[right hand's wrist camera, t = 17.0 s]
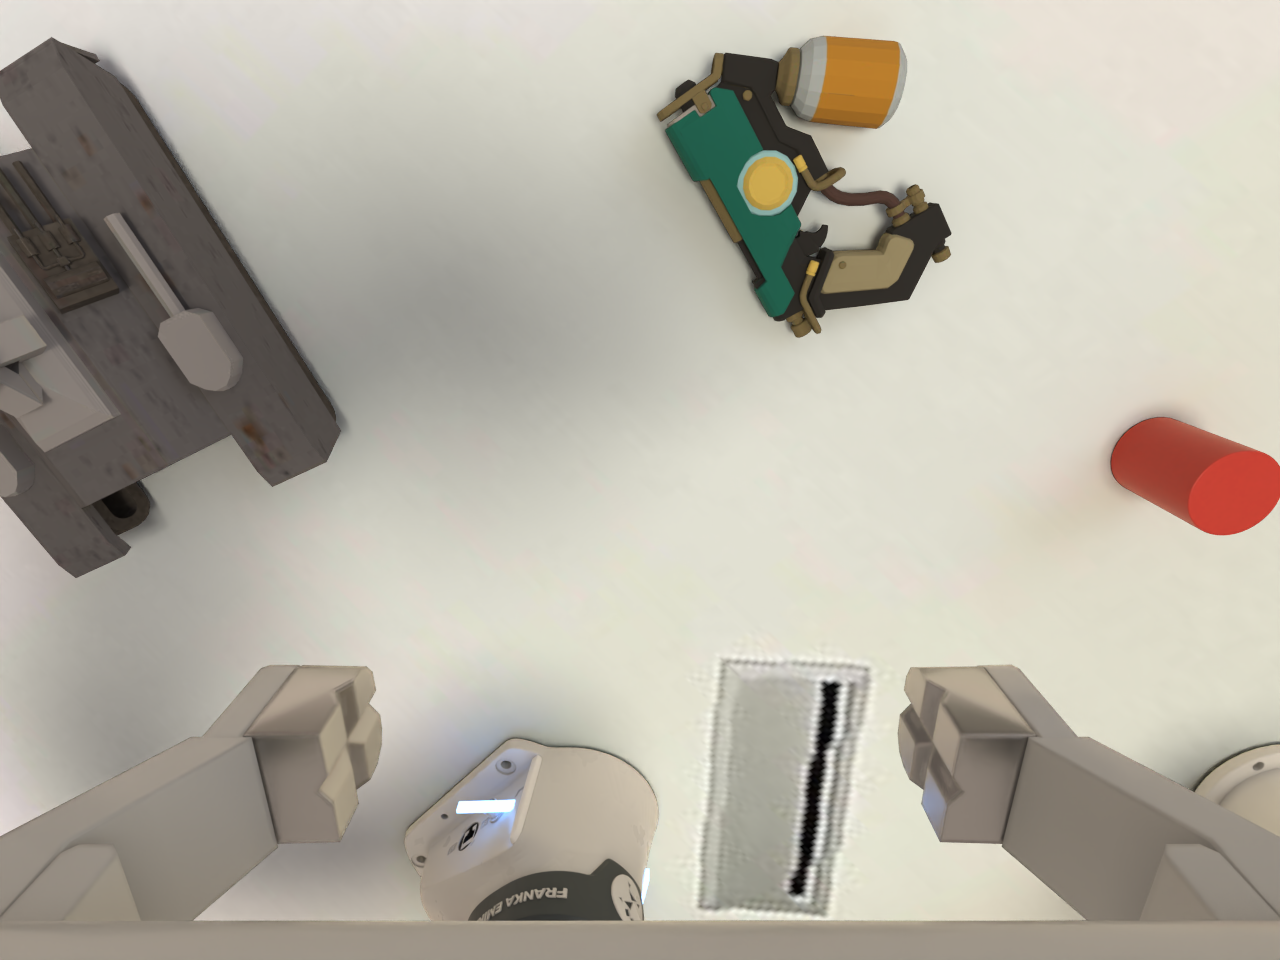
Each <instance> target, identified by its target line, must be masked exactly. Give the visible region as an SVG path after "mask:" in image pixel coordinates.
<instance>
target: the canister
mask: <svg viewBox="0 0 1280 960" xmlns="http://www.w3.org/2000/svg"><path fill="white" fill-rule="evenodd" d="M1111 468H1112V472H1113V475H1114V477H1115V479H1116V480H1117V482H1118V483H1119V484H1120V485H1122V486H1123V487H1125V488H1126V489H1128V490H1130V491H1132V492H1133V493H1135V494H1137V495H1139V496H1141V497H1142V498H1144V499H1146V500H1148V501H1150V502H1151V503H1153V504H1155V505H1157V506H1159V507H1160V508H1162V509H1164V510H1166V511H1168V512H1169V513H1171V514H1173V515H1175V516H1177V517H1178V518H1180V519H1182V520H1184V521H1186V522H1187V523H1189V524H1191V525H1193V526H1195V527H1196V528H1198V529H1200V530H1202V531H1204V532H1206V533H1209V534H1214V535H1231V534H1236V533H1239V532H1242V531H1245V530H1247V529H1249V528H1251V527H1253V526H1255V525H1256V524H1258V523H1259V522H1260V521H1262V520H1263V519H1264V518H1265V517H1266V516H1267V515H1268V514H1269V513H1270V512H1271V511H1272V510H1273V508H1274V507H1275V505H1276V504H1277V502H1278V500H1279V498H1280V466H1279V465H1278V463H1277V462H1276V461H1275V460H1274V459H1273V458H1272V457H1271V456H1269V455H1267V454H1265V453H1263V452H1260V451H1258V450H1255V449H1252V448H1250V447H1247V446H1244V445H1242V444H1239V443H1236V442H1234V441H1231V440H1228V439H1226V438H1223V437H1220V436H1218V435H1215V434H1212V433H1210V432H1207V431H1204V430H1202V429H1199V428H1196V427H1194V426H1191V425H1188V424H1186V423H1183V422H1180V421H1178V420H1175V419H1172V418H1166V417H1159V418H1152V419H1148V420H1145V421H1143V422H1140V423H1138V424H1137V425H1135V426H1133V427H1132V428H1131V429H1129V430H1128V431H1127V432H1126V433H1125V434H1124V435H1123V436H1122V437H1121V438H1120V440H1119V441H1118V443H1117V445H1116V446H1115V448H1114V451H1113V454H1112V459H1111Z"/></svg>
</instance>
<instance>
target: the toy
mask: <svg viewBox="0 0 1280 960" xmlns="http://www.w3.org/2000/svg"><path fill="white" fill-rule="evenodd" d="M99 61H100V60H99V59H98V57H97V56H96V54H93V53H90V52H87V51H84V50H81V49H78V48H75V47H72V46H70V45H67V44H64V43H61V42H59V41H57V40H56V39H54V38H52V37H51V38H50V39H48V40H47V41H45V42H44V43H42V44H40V45H39V46H37V47H36V48H34V49H33V50H31V51H30V52H28V53H27V54H25V55H24V56H22V57H21V58H19V59H18V60H16V61H15V62H13V63H12V64H10V65H8V66H7V67H5V68H4V69H2V70H1V71H0V99H1V101H2V104H3V106H4V108H5V109H6V111H7V112H8V113H9V115H10V116H11V118H12V119H13V121H14V122H15V124H16V125H17V127H18V128H19V130H20V131H21V132H22V134H23V135H24V137H25V138H26V140H27V141H28V143H29V144H30V146H31V147H32V149H28V150H24V151H20V152H16V153H12V154H8V155H4V156H0V497H1V498H2V499H3V500H4V501H5V502H6V503H7V505H8V506H9V507H10V508H11V509H12V511H13V512H14V513H15V514H16V515H17V517H18V518H19V519H20V520H21V521H22V522H23V524H24V525H25V526H26V527H27V528H28V530H29V531H30V532H31V533H32V534H33V535H34V537H35V538H36V539H37V540H38V541H39V543H40V544H41V545H42V546H43V547H44V548H45V550H46V551H47V552H48V553H49V554H50V556H51V557H52V558H53V559H54V560H55V561H56V563H57V564H58V565H59V566H61V567H62V568H63V569H65V570H66V571H67V572H69V573H70V574H71V575H73V576H74V577H75V578H77V577H79V576H81V575H84V574H86V573H88V572H90V571H92V570H95V569H97V568H99V567H101V566H103V565H105V564H108V563H110V562H112V561H114V560H116V559H118V558H121V557H123V556H125V555H126V554H127V552H128V551H129V550H130V548H131V546H129V545H128V544H127V543H126V542H124V541H123V540H122V539H121V538H120V537H118V536H117V535H119V534H121V533H123V532H125V531H128V530H130V529H132V528H134V527H136V526H138V525H139V524H140V523H142V522H143V521H144V520H145V519H146V517H147V516H148V513H149V509H150V504H149V500H148V498H147V496H146V494H145V493H144V492H143V491H142V489H141V488H140V487H139V485H138V484H137V483H136V482H137V481H139V480H141V479H143V478H145V477H147V476H149V475H151V474H153V473H155V472H157V471H159V470H161V469H163V468H165V467H167V466H169V465H171V464H173V463H175V462H177V461H179V460H181V459H183V458H185V457H187V456H189V455H191V454H193V453H195V452H197V451H199V450H201V449H203V448H205V447H207V446H209V445H211V444H213V443H215V442H217V441H219V440H221V439H223V438H225V437H227V436H229V435H232V436H233V438H234V439H235V440H236V442H237V443H238V445H239V446H240V447H241V449H242V450H243V452H244V453H245V455H246V456H247V457H248V459H249V460H250V462H251V463H252V465H253V466H254V467H255V469H256V470H257V472H258V473H259V474H260V475H261V476H262V477H263V478H264V479H265V480H266V481H267V482H268V483H269V484H270V485H271V486H272V487H273V486H275V485H277V484H280V483H282V482H284V481H286V480H288V479H290V478H293V477H295V476H297V475H299V474H301V473H303V472H306V471H308V470H310V469H312V468H314V467H316V466H319V465H321V464H323V463H325V462H327V460H328V458H329V456H330V453H331V451H332V449H333V447H334V445H335V443H336V440H337V438H338V436H339V434H340V432H341V430H340V428H339V427H338V425H337V424H336V415H335V411H334V409H333V407H332V405H331V403H330V402H329V400H328V399H327V397H326V395H325V394H324V392H323V391H322V389H321V388H320V386H319V384H318V383H317V381H316V380H315V378H314V377H313V375H312V373H311V372H310V370H309V369H308V367H307V366H306V364H305V362H304V361H303V359H302V358H301V356H300V355H299V353H298V351H297V350H296V348H295V347H294V345H293V344H292V342H291V340H290V339H289V337H288V336H287V334H286V333H285V331H284V329H283V328H282V326H281V325H280V323H279V322H278V320H277V318H276V317H275V315H274V314H273V312H272V311H271V309H270V307H269V306H268V304H267V303H266V301H265V300H264V298H263V297H262V295H261V293H260V292H259V290H258V289H257V287H256V286H255V284H254V282H253V281H252V279H251V278H250V276H249V275H248V273H247V271H246V270H245V268H244V267H243V265H242V264H241V262H240V260H239V259H238V257H237V256H236V254H235V253H234V251H233V249H232V248H231V246H230V245H229V243H228V242H227V240H226V238H225V237H224V235H223V234H222V232H221V231H220V229H219V227H218V226H217V224H216V223H215V221H214V220H213V218H212V216H211V215H210V213H209V212H208V210H207V209H206V207H205V205H204V204H203V202H202V201H201V199H200V198H199V196H198V194H197V193H196V191H195V190H194V188H193V187H192V185H191V183H190V182H189V180H188V179H187V177H186V176H185V174H184V172H183V171H182V169H181V168H180V166H179V165H178V163H177V161H176V160H175V158H174V157H173V155H172V154H171V152H170V150H169V149H168V147H167V146H166V144H165V143H164V141H163V139H162V138H161V136H160V135H159V133H158V132H157V130H156V129H155V127H154V125H153V124H152V122H151V121H150V119H149V118H148V116H147V114H146V113H145V111H144V110H143V108H142V107H141V105H140V103H139V102H138V100H137V99H136V97H135V96H134V95H133V94H132V93H131V92H130V91H129V90H128V89H127V88H126V87H125V86H123V85H122V84H121V83H119V81H118V80H117V78H116V77H115V76H113V75H112V74H110V73H108V72H107V71H105V70H104V69H102V68H100V67H99V66H97V65H96V64H95V63H97V62H99Z"/></svg>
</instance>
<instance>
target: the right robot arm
mask: <svg viewBox="0 0 1280 960" xmlns="http://www.w3.org/2000/svg"><path fill="white" fill-rule="evenodd" d="M375 691H376V687H375V682H374V677H373V672H372V671H371V670H370V669H369V668H368V667H366V666H320V665H302V666H299V665H269V666H266V667H263V668H261V669H260V670H259V671H258V672H257V674H256V675H255V676H254V677H253V678H252V679H251V681H250V682H249V683H248V684H247V685H246V686H245V688H244V689H243V690H242V691H241V692H240V693H239V695H238V696H237V697H236V698H235V699H234V700H233V702H232V703H231V704H230V705H229V706H228V707H227V709H226V710H225V711H224V712H223V713H222V714H221V716H220V717H219V718H218V719H217V720H216V721H215V722H214V724H213V725H212V726H211V727H210V728H209V729H208V731H207V732H206V733H205V734H204V735H203V736H202V737H190V738H188V739H187V740H185V741H183V742H181V743H179V744H177V745H175V746H173V747H171V748H169V749H167V750H165V751H163V752H162V753H160V754H158V755H156V756H154V757H152V758H150V759H148V760H146V761H144V762H142V763H140V764H138V765H137V766H135V767H133V768H131V769H129V770H127V771H125V772H123V773H121V774H119V775H117V776H115V777H114V778H112V779H110V780H108V781H106V782H104V783H102V784H100V785H98V786H96V787H94V788H92V789H90V790H89V791H87V792H85V793H83V794H81V795H79V796H77V797H75V798H73V799H71V800H69V801H67V802H65V803H64V804H62V805H60V806H58V807H56V808H54V809H52V810H50V811H48V812H46V813H44V814H42V815H40V816H39V817H37V818H35V819H33V820H31V821H29V822H27V823H25V824H23V825H21V826H19V827H17V828H16V829H14V830H12V831H10V832H8V833H6V834H4V835H2V836H0V960H1280V837H1279V836H1277V835H1275V834H1274V833H1272V832H1270V831H1268V830H1266V829H1264V828H1262V827H1260V826H1258V825H1256V824H1254V823H1252V822H1251V821H1249V820H1247V819H1245V818H1243V817H1241V816H1239V815H1237V814H1235V813H1233V812H1231V811H1229V810H1228V809H1226V808H1224V807H1222V806H1220V805H1218V804H1216V803H1214V802H1212V801H1210V800H1208V799H1206V798H1205V797H1203V796H1201V795H1199V794H1197V793H1195V792H1193V791H1191V790H1189V789H1187V788H1185V787H1184V786H1182V785H1180V784H1178V783H1176V782H1174V781H1172V780H1170V779H1168V778H1166V777H1164V776H1162V775H1161V774H1159V773H1157V772H1155V771H1153V770H1151V769H1149V768H1147V767H1145V766H1143V765H1141V764H1139V763H1138V762H1136V761H1134V760H1132V759H1130V758H1128V757H1126V756H1124V755H1122V754H1120V753H1118V752H1116V751H1115V750H1113V749H1111V748H1109V747H1107V746H1105V745H1103V744H1101V743H1099V742H1097V741H1095V740H1093V739H1092V738H1090V737H1077V735H1076V734H1075V733H1074V732H1073V731H1072V730H1071V728H1070V727H1069V726H1068V725H1067V724H1066V723H1065V721H1064V720H1063V719H1062V718H1061V717H1060V716H1059V714H1058V713H1057V712H1056V711H1055V710H1054V709H1053V707H1052V706H1051V705H1050V704H1049V703H1048V702H1047V700H1046V699H1045V698H1044V697H1043V696H1042V695H1041V693H1040V692H1039V691H1038V690H1037V689H1036V688H1035V686H1034V685H1033V684H1032V683H1031V682H1030V681H1029V679H1028V678H1027V677H1026V676H1025V675H1024V674H1023V672H1022V671H1021V670H1020V669H1019V668H1017V667H1015V666H1013V665H982V666H977V667H911V668H910V670H909V672H908V674H907V676H906V681H905V687H904V691H905V693H906V695H907V697H908V698H909V700H910V702H911V704H910V705H909V706H908V707H907V708H906V709H905V710H904V711H903V712H902V713H901V714H900V719H899V727H898V742H899V752H900V756H901V759H902V763H903V766H904V768H905V771H906V773H907V775H908V777H909V779H910V780H911V781H912V782H914V783H915V784H916V785H918V786H919V787H921V788H922V789H923V790H924V791H923V797H922V803H921V804H922V806H923V808H924V810H925V812H926V814H927V816H928V818H929V820H930V822H931V824H932V827H933V829H934V831H935V833H936V835H937V837H938V839H939V841H940V842H957V843H993V844H1002V847H1003V848H1004V849H1005V850H1006V851H1007V852H1009V853H1010V854H1011V855H1012V856H1013V857H1014V858H1016V859H1017V860H1018V861H1019V862H1020V863H1021V864H1022V865H1024V866H1025V867H1026V868H1027V869H1028V870H1029V871H1031V872H1032V873H1033V874H1034V875H1035V876H1036V877H1038V878H1039V879H1040V880H1041V881H1042V882H1043V883H1045V884H1046V885H1047V886H1048V887H1049V888H1050V889H1051V890H1053V891H1054V892H1055V893H1056V894H1057V895H1058V896H1060V897H1061V898H1062V899H1063V900H1064V901H1065V902H1067V903H1068V904H1069V905H1070V906H1071V907H1072V908H1074V909H1075V910H1076V911H1077V912H1078V913H1079V914H1080V915H1082V916H1083V917H1084V918H1085V919H1086V920H1087V921H644V913H643V901H644V898H645V894H646V890H647V886H648V883H649V869H646V866H647V861H648V856H649V852H650V848H651V844H652V841H653V837H654V834H655V831H656V828H657V824H658V805H657V801H656V798H655V795H654V793H653V791H652V789H651V787H650V785H649V784H648V782H647V781H646V780H645V779H644V778H643V776H642V775H641V774H640V773H639V772H637V771H636V770H635V769H634V768H633V767H631V766H630V765H629V764H627V763H625V762H624V761H622V760H620V759H618V758H616V757H614V756H612V755H609V754H606V753H603V752H600V751H596V750H592V749H586V748H575V747H546V746H543V745H541V744H538V743H535V742H531V741H528V740H524V739H510V740H508V741H506V742H505V743H504V744H502V745H501V746H500V747H499V748H498V749H497V750H496V751H495V752H493V753H492V754H491V755H490V756H489V757H488V758H487V759H485V760H484V761H483V762H482V763H481V764H480V765H479V766H478V767H476V768H475V769H474V770H473V771H472V772H471V773H470V774H468V775H467V776H466V777H465V778H464V779H463V780H462V781H461V782H459V783H458V784H457V785H456V786H455V787H454V788H453V789H452V790H450V791H449V792H448V793H447V794H446V795H445V796H444V797H442V798H441V799H440V800H439V801H438V802H437V803H436V804H435V805H433V806H432V807H431V808H430V809H429V810H428V811H427V812H425V813H424V814H423V815H422V816H421V817H420V818H419V819H418V820H416V821H415V822H414V823H413V824H412V825H411V826H410V827H409V828H408V829H407V831H406V835H405V839H404V843H405V848H406V852H407V855H408V857H409V859H410V861H411V863H412V865H413V867H414V868H415V870H416V871H417V873H418V874H419V875H420V876H421V883H420V895H421V901H422V904H423V907H424V909H425V911H426V913H427V915H428V916H429V918H430V920H431V921H193V920H194V919H195V918H196V917H197V916H199V915H200V914H201V913H202V912H203V911H204V910H205V909H207V908H208V907H209V906H210V905H211V904H212V903H214V902H215V901H216V900H217V899H218V898H219V897H221V896H222V895H223V894H224V893H225V892H226V891H228V890H229V889H230V888H231V887H232V886H233V885H235V884H236V883H237V882H238V881H239V880H240V879H242V878H243V877H244V876H245V875H246V874H247V873H249V872H250V871H251V870H252V869H253V868H254V867H255V866H257V865H258V864H259V863H260V862H261V861H262V860H264V859H265V858H266V857H267V856H268V855H269V854H271V853H272V852H273V851H274V850H275V849H276V848H278V844H287V843H321V842H340V841H341V839H342V837H343V835H344V833H345V831H346V829H347V827H348V825H349V822H350V820H351V818H352V816H353V814H354V812H355V810H356V808H357V806H358V804H359V803H358V797H357V791H356V790H357V789H358V788H359V787H361V786H362V785H364V784H365V783H366V782H368V781H369V780H370V779H371V777H372V775H373V773H374V770H375V768H376V766H377V764H378V759H379V755H380V750H381V745H382V725H381V718H380V714H379V713H378V712H377V711H376V710H375V709H374V708H373V707H372V706H371V705H370V704H369V702H370V700H371V698H372V697H373V695H374V693H375ZM505 761H509V763H508V762H505Z"/></svg>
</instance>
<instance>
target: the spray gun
mask: <svg viewBox="0 0 1280 960" xmlns="http://www.w3.org/2000/svg"><path fill="white" fill-rule="evenodd" d="M906 74H907V59H906V56H905V53H904V51H903V49H902V46H901V44H900V43H898V42H895V41H885V40H872V39H858V38H845V37H832V36H821V37H816V38H812V39H810V40H809V41H808V42H807V43H806V44H805V45H803V46H802V47H801V48H800V50H799V49H798V48H789V49H788V51H787V52H786V54H785V55H784V57H783V58H782V59H781V60H780V61H779V62H777V61H774V60H772V59H768V58H760V57H753V56H746V55H738V54H731V53H725V54H722V53H715V55H714V58H713V63H712V70H711V75H710V76H708V77H707V78H705V79H704V80H703V81H701V82H700V83H698V84H697V85H696V83H695V82H693V81H691V80H687V81H686V82H684V83H683V84H681V85H680V86H679V87H677V88H676V92H675V98H676V100H675V101H673V102H672V103H670V104H669V105H668V106H666V107H665V108H664V109H662V110H661V111H660V112H659V113H657V116H658V118H659V120H660V122H661V121H663V120H665V119H666V118H668V117H669V116H670V115H672V114H673V113H675V112H676V111H677V110H679V109H680V108H681V109H682V111H683V112H684V113H682V114H681V115H679V116H678V117H676V118H675V119H674V120H672V121H671V122H670V123H668V124H667V127H668V128H667V129H666V130H665V131H666V133H667V135H668V137H669V139H670V140H671V142H672V144H673V146H674V148H675V149H676V151H677V153H678V155H679V157H680V158H681V160H682V162H683V164H684V166H685V167H686V169H687V171H688V173H689V174H690V176H691V178H692V180H693V181H700V183H701V185H702V187H703V189H704V190H705V192H706V194H707V196H708V197H709V199H710V201H711V203H712V205H713V206H714V208H715V210H716V212H717V214H718V215H719V217H720V219H721V221H722V223H723V224H724V226H725V228H726V230H727V232H728V233H729V235H730V237H731V239H732V241H733V242H734V243H737V242H738V244H739V246H740V248H741V249H742V251H743V253H744V255H745V257H746V258H747V260H748V262H749V264H750V266H751V267H752V269H753V271H754V273H755V275H756V277H757V278H756V279H755V280H753V281H752V282H753V284H754V286H755V290H754V291H755V292H756V294H757V296H758V298H759V300H760V301H761V303H762V305H763V307H764V309H765V310H766V312H767V314H768V316H770V317H773V318H774V320H775V321H783V320H785V319H786V320H787V321H788V322H792V325H791V329H792V331H793V332H794V334H795V336H796V337H798V338H800V337H803V336H805V335H806V334H808V333H809V332H810V331H811V329H813V331H814V332H815V333H817V334H818V333H821V327H820V325H819V323H818V321H817V319H816V318H822V317H823V315H824V314H825V310H831V309H840V308H849V307H857V306H866V305H873V304H881V303H888V302H896V301H903V300H908V299H910V297H911V295H912V293H913V291H914V289H915V287H916V285H917V283H918V281H919V279H920V277H921V275H922V273H923V271H924V269H925V267H926V265H927V263H928V261H929V259H930V257H932V258H933V260H934V262H935V263H939V262H942V261H944V260H946V259H947V258H949V257H950V255H951V253H950V250H949V247H948V246H944V244H945V238H947V237H948V236H950V235H951V231H950V229H949V227H948V224H947V222H946V220H945V217H944V215H943V213H942V210H941V208H940V206H939V204H937V203H928V204H927V202H924V197H925V194H924V192H923V190H922V189H920V188H919V186H918V185H916V184H915V185H913V186H911V187H909V188H908V189H907V190H906V193H907V195H908V196H907V197H906V198H905V199H903V200H902V201H899V200H898V198H896V197H895V196H894V195H893V194H892V193H889V192H887V191H874V192H868V193H847V192H842V191H840V190H838V189H836V188H835V187H834V186H833V184H834V183H836V182H837V181H839V180H840V179H841V178H842V177H844V176H845V174H846V171H845V169H844V168H842V167H839V168H834V169H832V170H831V171H829V172H828V169H827V167H826V165H825V163H824V161H823V159H822V157H821V155H820V153H819V151H818V149H817V147H816V145H815V143H814V141H813V139H812V137H811V135H808V134H805V133H802V132H800V131H797V130H794V129H792V128H789V127H787V126H786V125H785V123H784V121H783V119H782V117H781V115H780V113H779V111H778V109H777V107H776V105H775V103H774V101H773V99H772V97H771V94H772V92H773V91H774V90H775V91H776V93H777V96H778V99H779V103H780V104H781V105H782V106H789V105H791V107H792V109H793V110H794V112H795V113H796V115H797V116H798V117H800V118H802V119H805V120H807V121H809V122H818V123H828V124H837V125H846V126H856V127H865V128H875V129H877V128H880V127H881V126H882V125H884V124H885V123H886V122H888V121H889V120H890V119H891V117H892V116H893V115H894V113H895V111H896V109H897V108H898V105H899V102H900V100H901V97H902V94H903V90H904V86H905V81H906ZM721 75H722V76H721ZM720 77H721V83H720V84H719V85H718V86H717V87H715V88H713V89H711V90H710V92H709V93H708V95H707V93H706V92H705V90H707V89H708V88H709V87H711V86H712V85H714V84H715V83H716V82H718V79H720ZM810 190H813V191H821V192H822V194H823V195H825V196H826V197H827V198H828V199H829V200H831V201H833V202H835V203H837V204H842V205H847V206H864V205H870V204H876V203H881V204H885V205H886V206H887V207H888V208H887V209H886V213H887V215H888V217H893V218H894V219H893V221H892V224H893V225H892V226H891V227H889V228H887V229H886V232H885V233H884V234H883V235H882V236H881V238H880V240H879V243H878V246H877V248H876V250H848V251H831V250H829V249H827V248H825V247H824V248H821V249H820V250H819V247H821V246H822V244H823V243H824V241H825V239H826V236H827V232H828V225H822V226H821V228H820V229H819V230H818V231H817V232H816V233H810V232H807V231H806V232H803V231H801V230H800V231H799V232H798V230H799V228H800V226H801V223H800V221H799V219H798V217H797V216H798V214H799V212H800V210H801V208H802V206H803V204H804V202H805V200H806V198H807V196H808V194H809V192H810ZM911 204H912V206H914V208H913V211H914V212H913V213H912V214H910V215H909V214H908V213H905V212H904V210H905V208H906V207H908V206H909V205H911ZM797 232H798V236H797V237H795V236H796V234H797ZM818 251H819V253H818V255H817V258H814V257H810V256H809V255H811V254H813V253H816V252H818ZM803 314H804V316H805V318H802V315H803Z"/></svg>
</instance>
